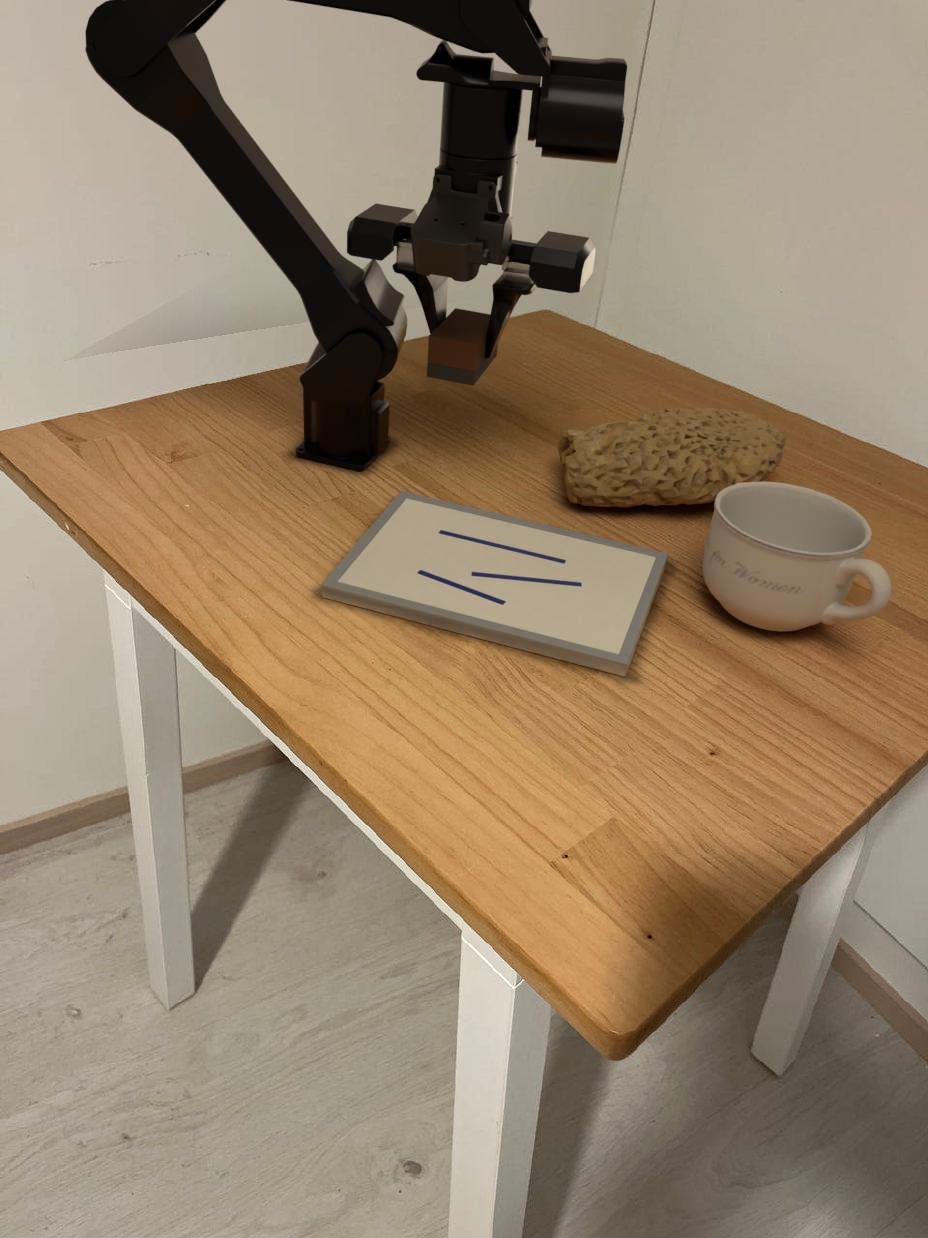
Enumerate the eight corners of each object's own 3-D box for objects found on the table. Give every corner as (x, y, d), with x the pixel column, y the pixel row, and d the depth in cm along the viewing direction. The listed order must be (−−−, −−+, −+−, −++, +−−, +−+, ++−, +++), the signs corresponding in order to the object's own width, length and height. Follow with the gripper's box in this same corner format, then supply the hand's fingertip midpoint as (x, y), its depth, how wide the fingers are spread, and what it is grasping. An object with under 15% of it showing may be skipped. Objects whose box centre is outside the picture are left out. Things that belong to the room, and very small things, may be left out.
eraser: (426, 377, 87) (428, 335, 85) (452, 347, 92) (455, 307, 90) (473, 386, 86) (477, 344, 84) (497, 355, 91) (500, 315, 89)
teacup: (665, 579, 81) (685, 485, 76) (781, 556, 85) (807, 466, 80) (777, 692, 71) (809, 591, 66) (904, 660, 75) (942, 563, 70)
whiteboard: (321, 597, 76) (321, 583, 75) (400, 502, 88) (401, 490, 87) (625, 677, 71) (628, 663, 70) (666, 565, 82) (669, 552, 82)
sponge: (573, 540, 87) (820, 504, 86) (563, 447, 84) (820, 409, 83) (557, 489, 99) (774, 457, 98) (547, 406, 95) (772, 372, 95)
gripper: (317, 154, 75) (319, 366, 84) (578, 194, 71) (550, 411, 80) (375, 125, 84) (370, 320, 93) (609, 160, 80) (581, 359, 89)
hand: (463, 352), depth 88 cm, fingers closed on eraser, 4 cm apart
